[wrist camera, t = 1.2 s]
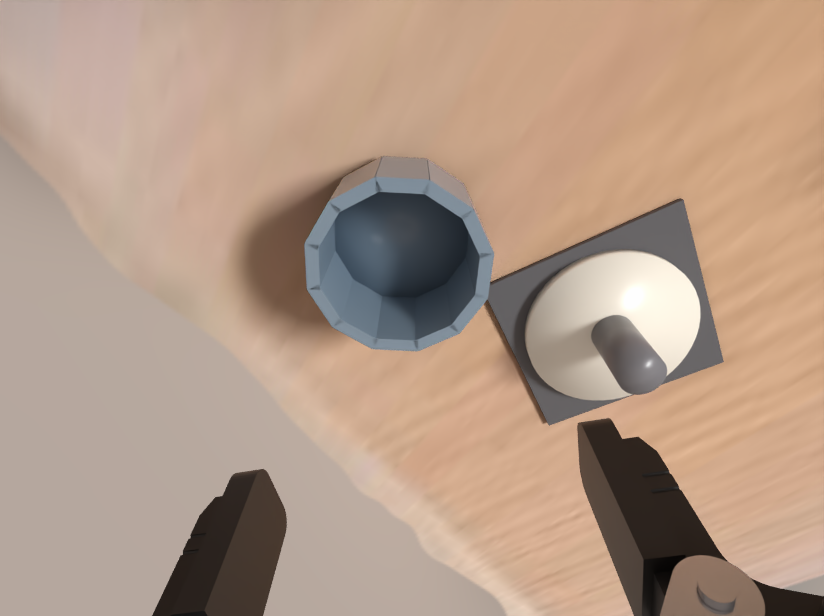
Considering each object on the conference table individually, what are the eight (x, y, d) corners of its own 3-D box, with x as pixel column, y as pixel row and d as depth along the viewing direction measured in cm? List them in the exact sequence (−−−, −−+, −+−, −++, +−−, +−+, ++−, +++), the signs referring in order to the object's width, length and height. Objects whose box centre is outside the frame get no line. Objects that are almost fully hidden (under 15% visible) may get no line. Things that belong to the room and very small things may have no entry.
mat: (680, 198, 33) (683, 199, 33) (720, 359, 39) (723, 362, 39) (481, 286, 36) (482, 288, 36) (547, 422, 42) (548, 425, 42)
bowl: (437, 124, 31) (442, 141, 25) (501, 264, 35) (519, 308, 29) (295, 200, 33) (268, 232, 27) (372, 322, 38) (363, 374, 32)
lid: (671, 218, 33) (725, 251, 28) (709, 357, 39) (760, 409, 33) (499, 294, 36) (515, 338, 30) (556, 413, 41) (578, 470, 36)
